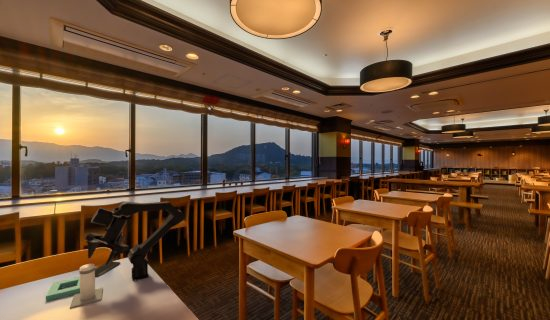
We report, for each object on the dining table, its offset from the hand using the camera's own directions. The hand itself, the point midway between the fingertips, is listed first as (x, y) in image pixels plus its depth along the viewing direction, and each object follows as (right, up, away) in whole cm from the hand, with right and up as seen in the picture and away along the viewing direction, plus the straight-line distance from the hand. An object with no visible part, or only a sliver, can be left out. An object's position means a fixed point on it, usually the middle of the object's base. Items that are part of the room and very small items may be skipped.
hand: (97, 261), depth 105 cm
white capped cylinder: (0, -12, -6) cm, 14 cm away
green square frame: (-13, -12, 0) cm, 18 cm away
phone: (-11, -13, +18) cm, 25 cm away
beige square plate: (0, -13, -6) cm, 14 cm away
